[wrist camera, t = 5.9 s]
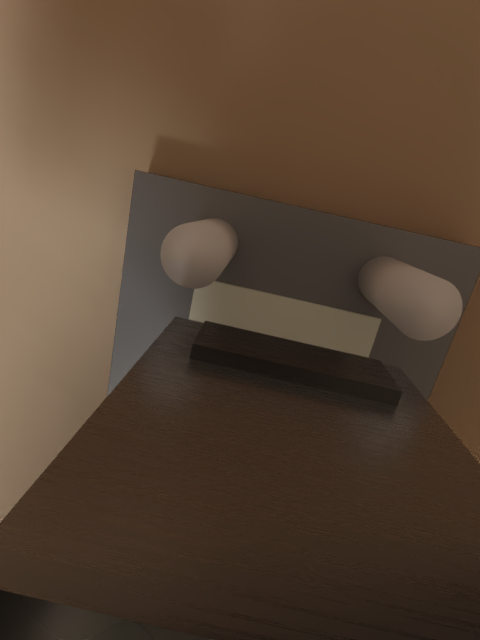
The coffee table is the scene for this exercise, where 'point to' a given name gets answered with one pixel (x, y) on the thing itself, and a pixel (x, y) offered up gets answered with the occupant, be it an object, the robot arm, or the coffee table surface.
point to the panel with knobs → (287, 277)
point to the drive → (249, 504)
